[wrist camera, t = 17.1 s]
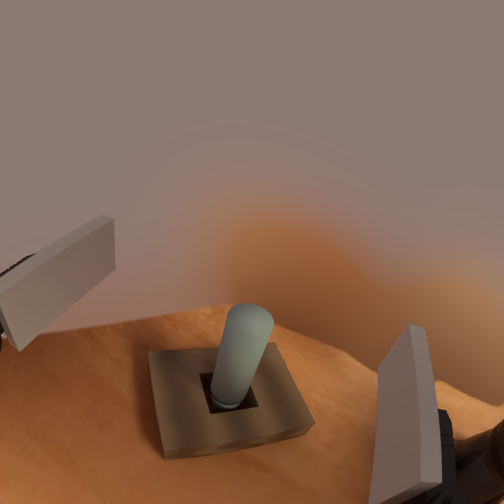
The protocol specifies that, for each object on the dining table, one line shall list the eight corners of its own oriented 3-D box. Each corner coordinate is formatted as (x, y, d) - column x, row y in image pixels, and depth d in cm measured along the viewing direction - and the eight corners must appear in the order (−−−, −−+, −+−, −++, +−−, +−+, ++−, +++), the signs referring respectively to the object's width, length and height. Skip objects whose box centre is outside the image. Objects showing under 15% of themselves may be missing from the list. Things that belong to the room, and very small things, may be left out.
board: (268, 356, 45) (274, 342, 43) (304, 434, 34) (315, 422, 32) (148, 366, 38) (147, 351, 36) (164, 460, 27) (164, 450, 25)
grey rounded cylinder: (235, 388, 39) (264, 302, 31) (244, 415, 35) (280, 333, 27) (203, 392, 37) (222, 304, 29) (211, 420, 33) (235, 338, 25)
